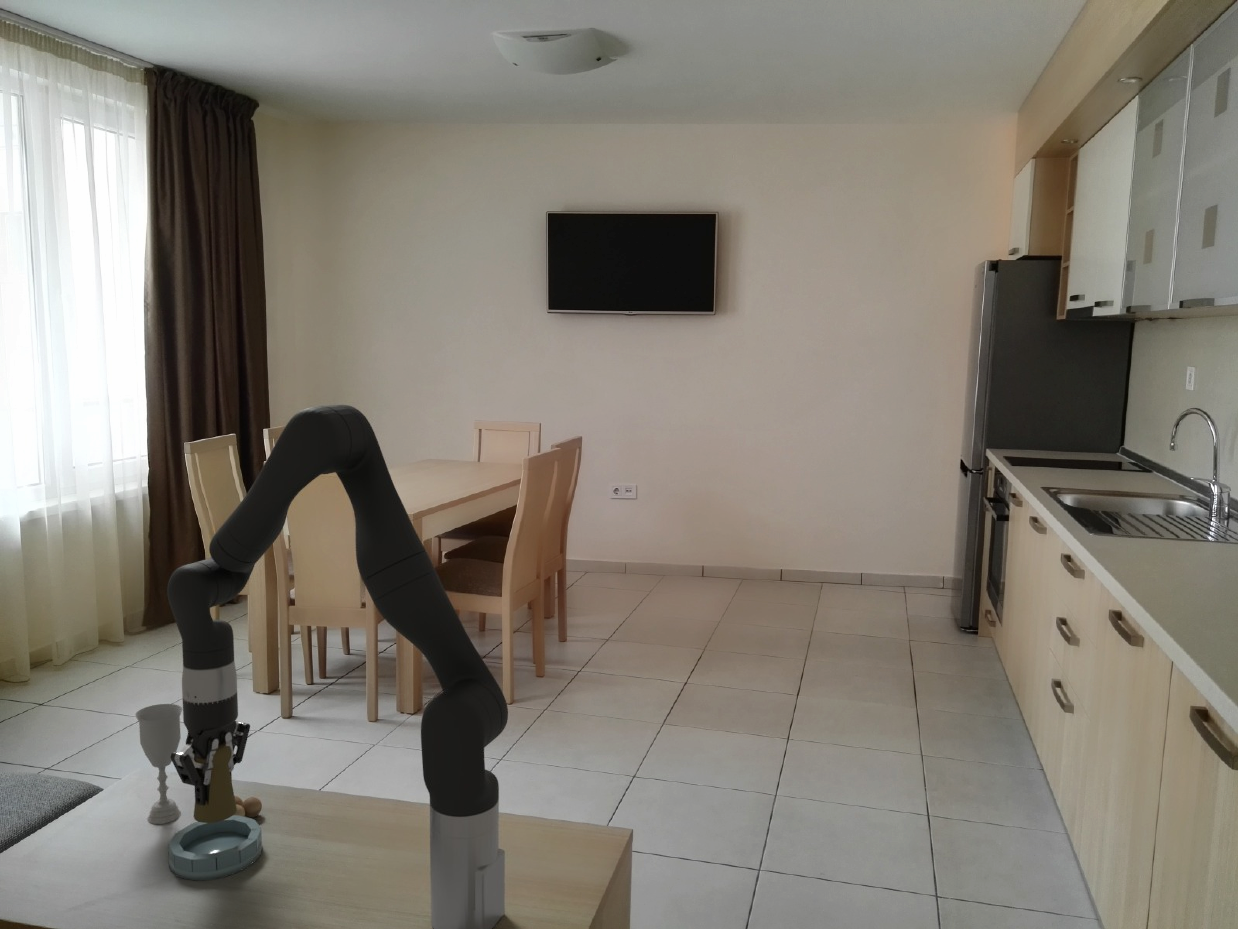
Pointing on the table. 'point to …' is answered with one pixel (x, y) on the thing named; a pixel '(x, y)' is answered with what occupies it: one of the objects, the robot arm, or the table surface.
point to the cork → (218, 789)
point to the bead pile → (248, 807)
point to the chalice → (160, 752)
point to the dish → (215, 848)
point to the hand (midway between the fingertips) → (214, 799)
